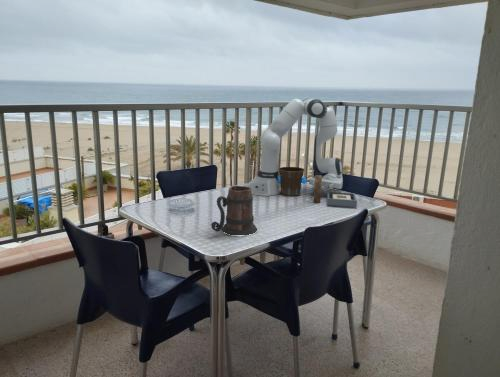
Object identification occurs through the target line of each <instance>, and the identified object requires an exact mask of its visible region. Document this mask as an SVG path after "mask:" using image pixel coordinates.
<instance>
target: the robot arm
mask: <svg viewBox="0 0 500 377" xmlns="http://www.w3.org/2000/svg"><path fill="white" fill-rule="evenodd" d="M303 115H305V116H308V117H311V118H315V119H317V121H318V133H317V134H316V135H315V138H314V145H313V161H312V170H313V171H314V172H315V173H316V175H321V174H325V175H322V183H321V187H324V188H326V189H338V190H341V189H342V188H343V184H344V183H343V182H344V180H343V179H344V178H343V171H344V170H343V168H344V167H343V163H342V161H341V159H340V158H339V157H327V158H326V157H322V148H323V147H322V146H323V144H324V143H326V142H328V141H330V140H331V139H333V138H335V137H336V135H337V134H338V122H337V117H336V112H335V110H334V108H332V107H330V106H329V107H328V106H326V105H325V104H324V102H323V101H322V100H321V99H317V98H313V97H308V98H306V99H304V100H302V99H300V98H296V97H295V98H293V99H291V100H290V101H289V102H288V103H287V104H286V106H284V107H283V109H282V110H281V111H280V113H279V114H278V115H277V116H276V118H275V119H274V120H273V121H272V122H271V123H270V124H269V125H268V126H267V127H266V128H265V130H264V131H263V132H262V133H261V136H260V138H259V139H260V140H259V141H260V144H261V152H260V153H261V155H260V169H257V174H256V177H254V178H253V179H251V180H250V181H249V183H248V185H247V187H250V188H251V191H252V196H253V195H254V196H255V195H256V196H262V197H269V196H275V195H279V194H281V191H280V187H278V177H279V176H280V173H279V156H280V150H281V139H282V138H283V137H284V136H285V135H286V134H287V133H289V132H290V130H291V129H292V128H293V127H294V125H295V124H296V123H297V121H298V120H299V118H300V117H301V116H303ZM314 183H315V176H314V177H311V178H309V180H308V184H309V185H312V186H314Z"/></svg>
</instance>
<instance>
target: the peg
mask: <svg viewBox="0 0 500 377" xmlns="http://www.w3.org/2000/svg"><path fill="white" fill-rule="evenodd" d="M314 177H315V183H314V185H313V201H312V202H313V203H314V204H320V203H321V198H322V195H321V194H322V186H321V183H322V178H323V175H321V174H315V175H314Z"/></svg>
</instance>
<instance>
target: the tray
mask: <svg viewBox="0 0 500 377" xmlns="http://www.w3.org/2000/svg"><path fill="white" fill-rule="evenodd" d="M326 196H327V197H326V207H331V208H344V209H357V203H358V199H357V196H356V193H353V192H340V191H337V192H336V191H327V195H326Z"/></svg>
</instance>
